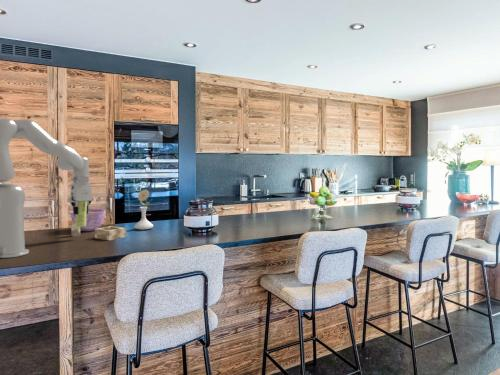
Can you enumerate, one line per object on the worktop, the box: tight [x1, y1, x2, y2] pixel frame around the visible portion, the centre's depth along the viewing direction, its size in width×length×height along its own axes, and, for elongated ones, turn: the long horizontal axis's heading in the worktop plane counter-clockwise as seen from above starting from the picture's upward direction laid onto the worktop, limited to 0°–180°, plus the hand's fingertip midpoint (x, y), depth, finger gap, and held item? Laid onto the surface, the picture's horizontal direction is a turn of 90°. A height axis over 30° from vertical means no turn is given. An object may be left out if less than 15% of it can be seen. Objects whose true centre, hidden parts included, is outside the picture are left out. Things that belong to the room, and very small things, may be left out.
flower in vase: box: [133, 189, 154, 230], centre depth 220 cm, size 13×11×25 cm
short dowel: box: [70, 222, 81, 238], centre depth 200 cm, size 4×4×7 cm
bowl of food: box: [69, 208, 106, 232], centre depth 218 cm, size 20×20×12 cm
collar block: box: [94, 225, 127, 241], centre depth 196 cm, size 11×12×5 cm
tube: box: [76, 201, 87, 227], centre depth 191 cm, size 6×5×20 cm
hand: (80, 213), depth 191 cm, fingers closed on tube, 5 cm apart
